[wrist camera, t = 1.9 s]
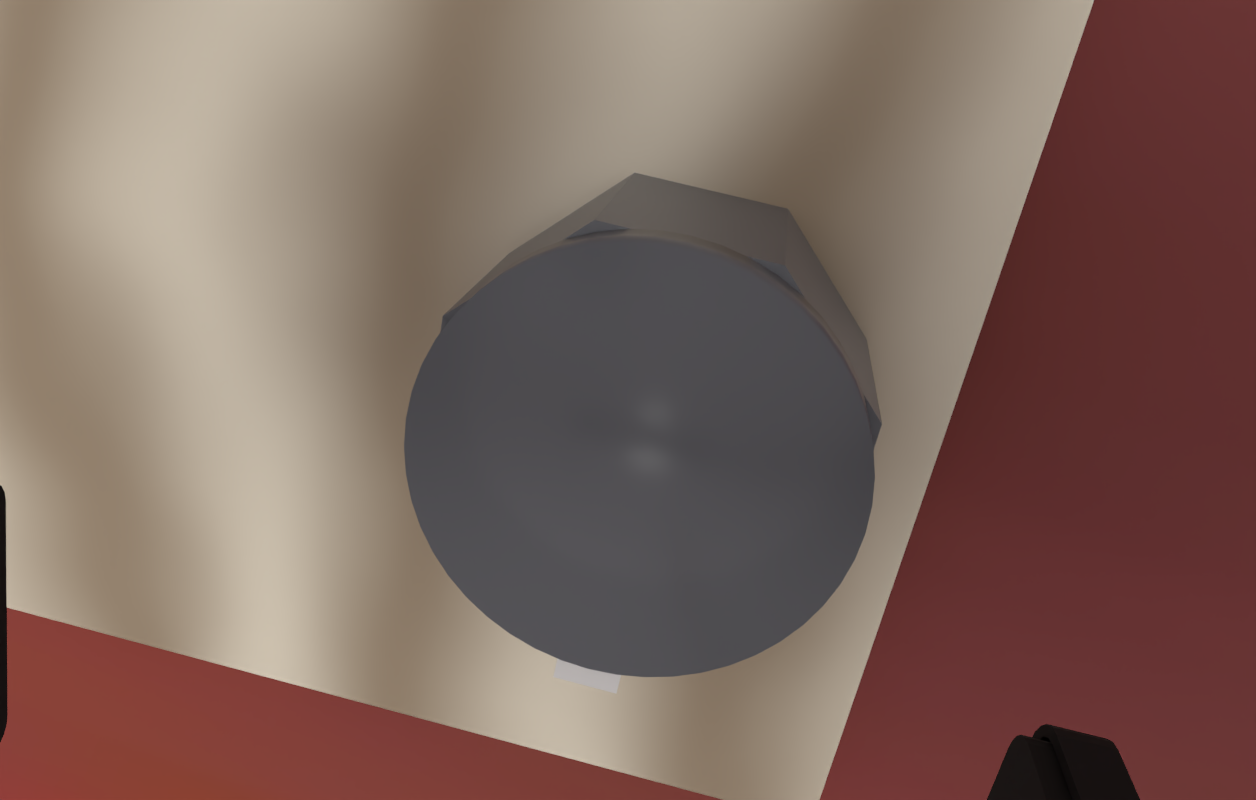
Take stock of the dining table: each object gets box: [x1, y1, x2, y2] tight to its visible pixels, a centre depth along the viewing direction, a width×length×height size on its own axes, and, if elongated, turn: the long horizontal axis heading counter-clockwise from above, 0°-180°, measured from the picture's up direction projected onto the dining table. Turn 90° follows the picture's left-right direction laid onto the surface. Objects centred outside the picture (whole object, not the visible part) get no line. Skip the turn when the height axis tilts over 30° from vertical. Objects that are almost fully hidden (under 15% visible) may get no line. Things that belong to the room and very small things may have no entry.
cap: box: [404, 173, 882, 693], centre depth 18 cm, size 7×7×5 cm
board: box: [0, 0, 1094, 800], centre depth 17 cm, size 18×26×6 cm
